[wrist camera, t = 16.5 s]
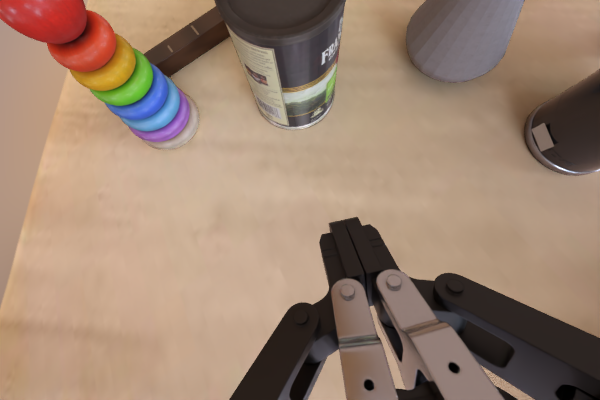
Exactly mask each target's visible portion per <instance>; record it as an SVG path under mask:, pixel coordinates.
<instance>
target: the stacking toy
mask: <svg viewBox="0 0 600 400" xmlns="http://www.w3.org/2000/svg"><path fill="white" fill-rule="evenodd" d="M0 19H1V20H3V21H4V22H5V23H6V24H8V25H9V26H11V27H12V28H13V29H15V30H17V31H18V32H20V33H22V34H23V35H25V36H28V37H30V38H33V39H35V40H38V41H41V42H46V43H47V46H48V49H49V51H50V53H51V55H52V56H53V57H54V59H55V60H56V61H57V62H59V63H60V64H61V65H63V66H64V67H66V68H68V69H70V72H71V74H72V76H73V77H74V78H75V79H76V80H77V81H78V82H79V83H80V84H82V85H83V86H85V87H87V88H89V89H90V91H91V92H92V93H93V94H94V95H95V96H96V97H97V98H98V99H100V100H101V101H103V102H105V104H106V106H107V107H108V108H109V109H110V110H111V111H112V112H113V113H114V114H116V115H118V116H119V117H120V118H121V120H122V121H123V122H124V123H125V124H127V125H128V126H129V128H130V130H131V131H132V132H133V133H134V134H135V135H136V136H138V137H139V138H141V139H142V140H143V141H144V142H145V143H146V144H148V145H149V146H151V147H153V148H156V149H160V150H172V149H176V148H178V147H181V146H182V145H184V144H186V143H187V142H188V141H189V140H190V139H191V138H192V137H193V136H194V134H195V133H196V131H197V129H198V126H199V111H198V108H197V106H196V104H195V102H194V101H193V100H192V99H191V98H190V97H189V96H187V95H186V94H184V93H183V92H182V91H181V90H180V89H179V88H178V87H176V85H175V84H174V83H173V81H172V80H171V79H170V78H168V77H167V76H166V75H164V74H163V73H162V72H161V71H160V70H159V69H158V68H157V67H156V66H155V65H153V64H151V63H150V62H149V61H148V59H147V58H146V57H145V56H144V55H143V54H142V53H141V52H139V51H138V50H136V49H134V48H132V47H131V45H130V44H129V43H128V42H127V41H126V40H125V39H124V38H123V37H121V36H119V35H118V34H115V33H114V31H113V29H112V27H111V26H110V24H109V23H108V22H107V21H106V20H105V19H104V18H103V17H102V16H100V15H99V14H97V13H95V12H92V11H89V10H86V8H85V5H84V2H83V0H0Z"/></svg>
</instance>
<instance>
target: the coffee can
mask: <svg viewBox="0 0 600 400" xmlns="http://www.w3.org/2000/svg"><path fill="white" fill-rule="evenodd" d="M345 2H346V0H215V3H216V6H217V8H218V11H219V13H220V15H221V17H222V18H223V20H224V21H225V23H226V26H227V28H228V31H229V34H230V36H231V39H232V42H233V44H234V47H235V49H236V52H237V54H238V57H239V59H240V62H241V64H242V67H243V69H244V71H245V74H246V77H247V79H248V82H249V84H250V87H251V90H252V92H253V94H254V97H255V99H256V102H257V106H258V108H259V111H260V112H261V114H262V116H263V117H264V118H265V119H267V120H268V121H269V122H270V123H272V124H273V125H275V126H277V127H280V128H283V129H288V130H298V129H304V128H307V127H310V126H312V125H314V124H316V123H318V122H319V121H320V120H321V119H323V118H324V117H325V115H326V114H327V113H328V111H329V110H330V108H331V106H332V103H333V100H334V88H335V79H336V71H337V62H338V55H339V46H340V38H341V31H342V22H343V14H344V5H345Z"/></svg>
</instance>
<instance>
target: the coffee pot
mask: <svg viewBox="0 0 600 400" xmlns="http://www.w3.org/2000/svg"><path fill="white" fill-rule="evenodd" d="M523 3H524V0H426V1H425V2H424V3H423V4H422V5H421V6H420V7H419V8H418V9H417V11H416V12H415V13H414V14H413V15H412V17H411V19H410V22H409V24H408V26H407V33H406V45H407V50H408V54H409V56H410V58H411V60H412V62H413V64H414V65H415V66H416V67H417V68H418V69H419V70H420V71H421V72H423V73H424V74H426V75H427V76H429V77H431V78H433V79H436V80H439V81H443V82H453V83H456V82H464V81H468V80H471V79H474V78H476V77H479V76H482V75H484V74H486V73H487V72H488V71H490V70H491V69H493V68H494V67H495V66H496V65H497V64H498V63H499V61H500V60H501V59H502V58H503V56H504V55H505V52H506V49H507V46H508V44H509V41H510V38H511V36H512V33H513V30H514V27H515V25H516V22H517V19H518V17H519V14H520V11H521V8H522V6H523Z"/></svg>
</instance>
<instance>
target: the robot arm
mask: <svg viewBox="0 0 600 400" xmlns="http://www.w3.org/2000/svg"><path fill="white" fill-rule="evenodd" d="M525 138H526V142H527V145H528V147H529V149H530V151H531V152H532V154H533V155H534V156H535V158H536V159H537V160H538V161H539V162H541V163H542V164H543V165H544V166H546V167H548V168H549V169H551V170H553V171H556V172H558V173H561V174H566V175H584V174H588V173H592V172H596V171H599V170H600V69H599V70H597V71H596V72H595V73H593V74H591V75H590V76H588V77H587V78H585V79H583V80H582V81H580V82H579V83H577V84H575V85H574V86H572V87H570V88H569V89H567V90H566V91H564V92H562V93H561V94H559V95H558V96H556V97H554V98H553V99H551V100H548V101H547V102H545V103H543V104H542V105H540V106H539V107H537V108H536V109H535V110H534V111H533V112H532V113H531V114H530V115H529V117H528V119H527V122H526V125H525ZM329 227H330V233H327V234H322V235H321V239H320V242H319V243H320V248H321V253H322V258H323V263H324V267H325V271H326V275H327V280H328V284H329V291H328V293H327V295H326V296H325V297H324V298H323V299H322V300H320V301H319V302H317V303H315V304H313V305H311V304H309V303H298V304H295V305H293V306H292V307H291V308H290V309H289V310H288V311H287V312H286V314H285V315H284V317H283V318H282V320H281V322H280V323H279V325H278V326H277V328H276V329H275V331H274V332H273V334H272V335H271V337H270V338H269V340H268V341H267V343H266V344H265V346H264V347H263V349H262V351H261V352H260V354H259V355H258V357H257V358H256V360H255V361H254V363H253V364H252V366H251V367H250V369H249V370H248V372H247V373H246V375H245V377H244V378H243V380H242V381H241V383H240V384H239V386H238V387H237V389H236V390H235V392H234V393H233V395H232V396H231V398H230V399H229V400H308V397H309V395H310V393H311V391H312V389H313V387H314V385H315V382H316V380H317V378H318V376H319V374H320V372H321V370H322V367H323V365H324V363H325V361H326V359H327V356H329V355H330V354H332V353H333V352H335V351H336V350H338V349H339V352H340V359H341V365H342V372H343V378H344V385H345V392H346V398H347V400H518V399H516V398H515V397H513V396H512V395H510V394H509V393H507V392H505V391H504V390H502V389H500V388H498V387H496V386H495V385H494V384H493V383H492V381H491V380H490V379H489V377H488V376H487V374H486V373H485V372H484V370H483V369H482V367H481V366H480V365H482V366H483V367H485V368H486V369H488V370H489V371H491V372H493V373H494V374H496V375H497V376H499V377H500V378H502V379H504V380H505V381H507V382H508V383H510V384H512V385H513V386H515V387H516V388H518V389H519V390H521V391H523V392H524V393H526V394H527V395H529V396H530V397H532V398H534V399H535V400H600V338H598V337H596V336H594V335H591V334H589V333H587V332H585V331H582V330H580V329H578V328H576V327H574V326H571V325H569V324H567V323H565V322H563V321H560V320H558V319H556V318H554V317H551V316H549V315H547V314H545V313H543V312H540V311H538V310H536V309H534V308H531V307H529V306H527V305H525V304H523V303H520V302H518V301H516V300H514V299H511V298H509V297H507V296H505V295H503V294H500V293H498V292H496V291H494V290H491V289H489V288H487V287H485V286H483V285H480V284H478V283H476V282H474V281H472V280H469V279H467V278H465V277H463V276H460V275H457V274H453V273H444V274H441V275H439V276H438V277H437V278H436V279H435V281H428V280H417V279H413V278H411V277H408V276H407V275H406V274H405V273H403V272H402V271H400V269H399V268H398V266H397V265H396V263H395V261H394V259H393V257H392V256H391V254H390V252H389V250H388V248H387V247H386V245H385V243H384V241H383V240H382V238H381V236H380V234H379V232H378V231H377V230H376V229H375V228H374V227H372V226H371V225H370V224H369V225H364V226H362V225H361V223H360V221H359V219H358V217H354V218H350V219H345V220H341V221H336V222H331V223H329ZM373 305H374V307H375V309H376V312H377V320H378V323H379V326H380V328H381V330H382V332H383V334H384V336H385V338H386V341H387V343H388V345H389V347H390V349H391V351H392V353H393V355H394V358H395V360H396V362H397V364H398V367H399V370H400V373H401V377H402V381H403V383H404V386H405V388H406V390H404V389H395V385H394V382H393V379H392V375H391V372H390V368H389V365H388V362H387V358H386V355H385V351H384V348H383V345H382V342H381V340H380V338H379V337H378V335H377V332H376V329H375V325H374V321H373V318H372V314H371V311H370V307H369V306H373ZM479 364H480V365H479Z"/></svg>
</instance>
